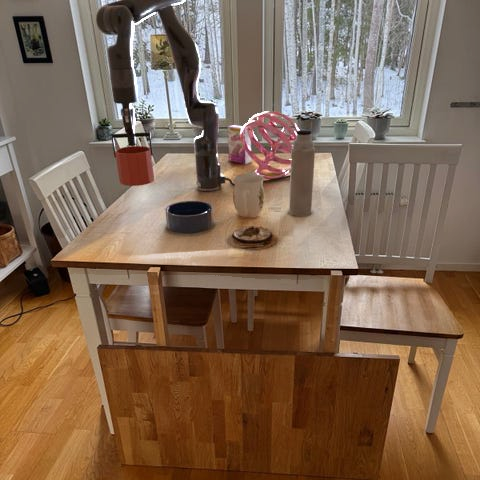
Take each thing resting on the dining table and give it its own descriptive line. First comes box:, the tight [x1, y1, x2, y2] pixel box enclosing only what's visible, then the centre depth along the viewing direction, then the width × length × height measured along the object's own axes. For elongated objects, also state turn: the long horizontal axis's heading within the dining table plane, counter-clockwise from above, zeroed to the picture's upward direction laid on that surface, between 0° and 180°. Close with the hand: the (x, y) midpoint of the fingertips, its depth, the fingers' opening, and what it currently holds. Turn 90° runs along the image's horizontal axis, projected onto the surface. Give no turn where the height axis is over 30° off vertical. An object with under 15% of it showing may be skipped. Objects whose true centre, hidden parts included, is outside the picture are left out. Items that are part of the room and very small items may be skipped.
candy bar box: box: [227, 124, 252, 165], centre depth 229 cm, size 11×5×16 cm, turn 49°
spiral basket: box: [240, 110, 300, 180], centre depth 204 cm, size 28×28×27 cm
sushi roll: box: [231, 225, 277, 251], centre depth 149 cm, size 15×15×4 cm
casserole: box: [164, 200, 214, 235], centre depth 159 cm, size 16×16×6 cm
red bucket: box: [110, 131, 155, 187], centre depth 153 cm, size 11×12×15 cm
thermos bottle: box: [288, 129, 316, 217], centre depth 163 cm, size 8×8×28 cm
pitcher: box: [232, 170, 265, 219], centre depth 165 cm, size 11×18×14 cm, turn 170°
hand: (132, 144), depth 151 cm, fingers closed on red bucket, 1 cm apart
